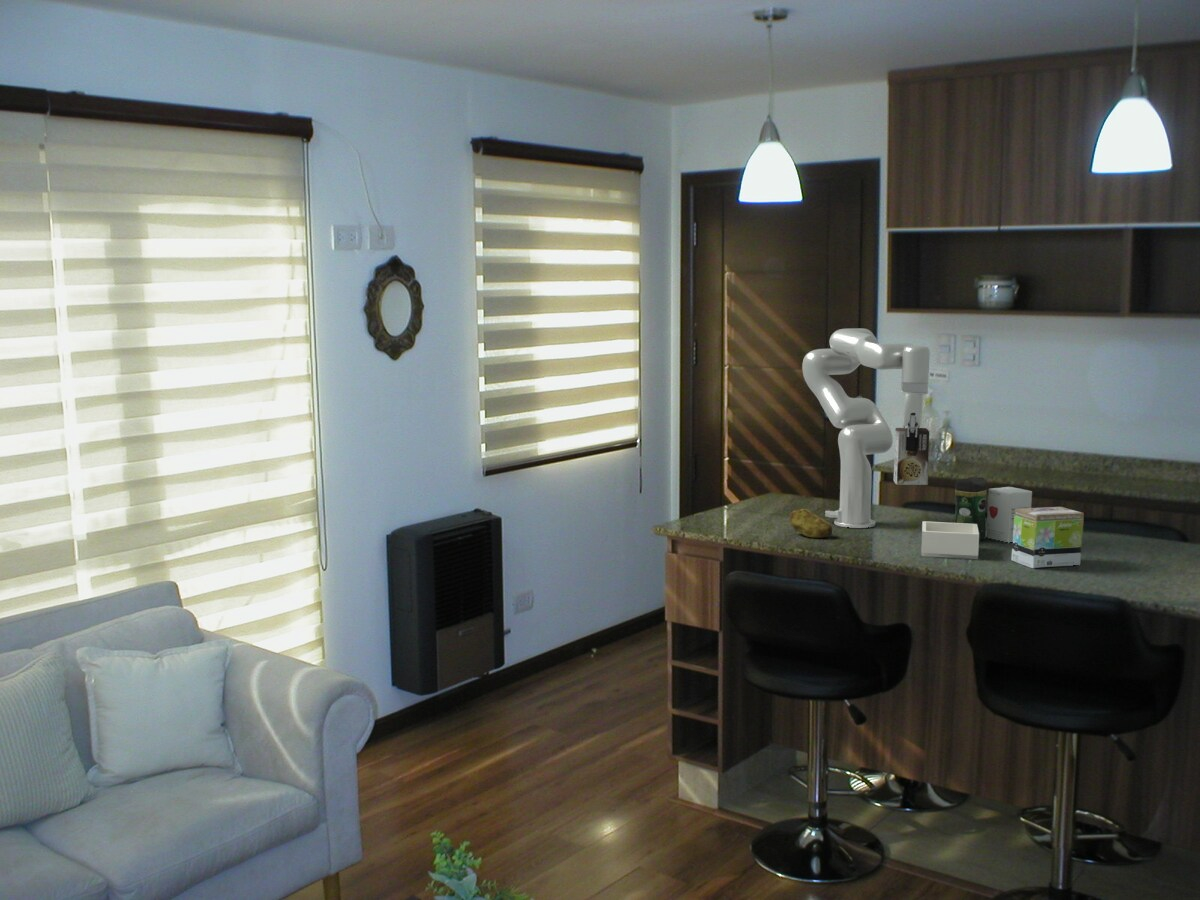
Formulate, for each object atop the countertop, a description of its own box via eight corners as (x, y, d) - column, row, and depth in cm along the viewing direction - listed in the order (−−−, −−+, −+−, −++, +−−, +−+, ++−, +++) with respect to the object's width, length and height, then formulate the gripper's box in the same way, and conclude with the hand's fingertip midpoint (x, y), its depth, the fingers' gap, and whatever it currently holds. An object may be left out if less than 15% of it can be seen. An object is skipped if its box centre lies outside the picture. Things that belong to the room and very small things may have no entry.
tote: (921, 556, 325) (922, 531, 324) (921, 545, 339) (922, 521, 338) (978, 559, 321) (979, 534, 320) (975, 547, 335) (976, 523, 334)
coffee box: (924, 481, 347) (926, 427, 344) (927, 485, 340) (930, 430, 338) (892, 480, 348) (895, 427, 345) (895, 484, 341) (898, 429, 339)
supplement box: (984, 537, 349) (987, 488, 347) (1006, 535, 353) (1009, 486, 351) (1008, 543, 341) (1010, 493, 339) (1030, 540, 345) (1033, 490, 343)
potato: (816, 541, 344) (817, 514, 343) (784, 534, 354) (784, 508, 353) (835, 537, 349) (836, 511, 348) (802, 531, 359) (803, 505, 358)
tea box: (1033, 569, 309) (1036, 514, 307) (1010, 561, 319) (1013, 507, 317) (1082, 565, 314) (1084, 511, 312) (1057, 557, 323) (1060, 505, 321)
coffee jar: (964, 534, 353) (967, 474, 351) (989, 538, 348) (992, 477, 345) (948, 539, 346) (951, 477, 344) (973, 543, 341) (976, 480, 338)
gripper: (901, 385, 349) (899, 444, 352) (900, 390, 333) (897, 452, 335) (927, 386, 347) (925, 445, 350) (927, 391, 331) (924, 453, 333)
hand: (911, 448), depth 343 cm, fingers closed on coffee box, 7 cm apart
